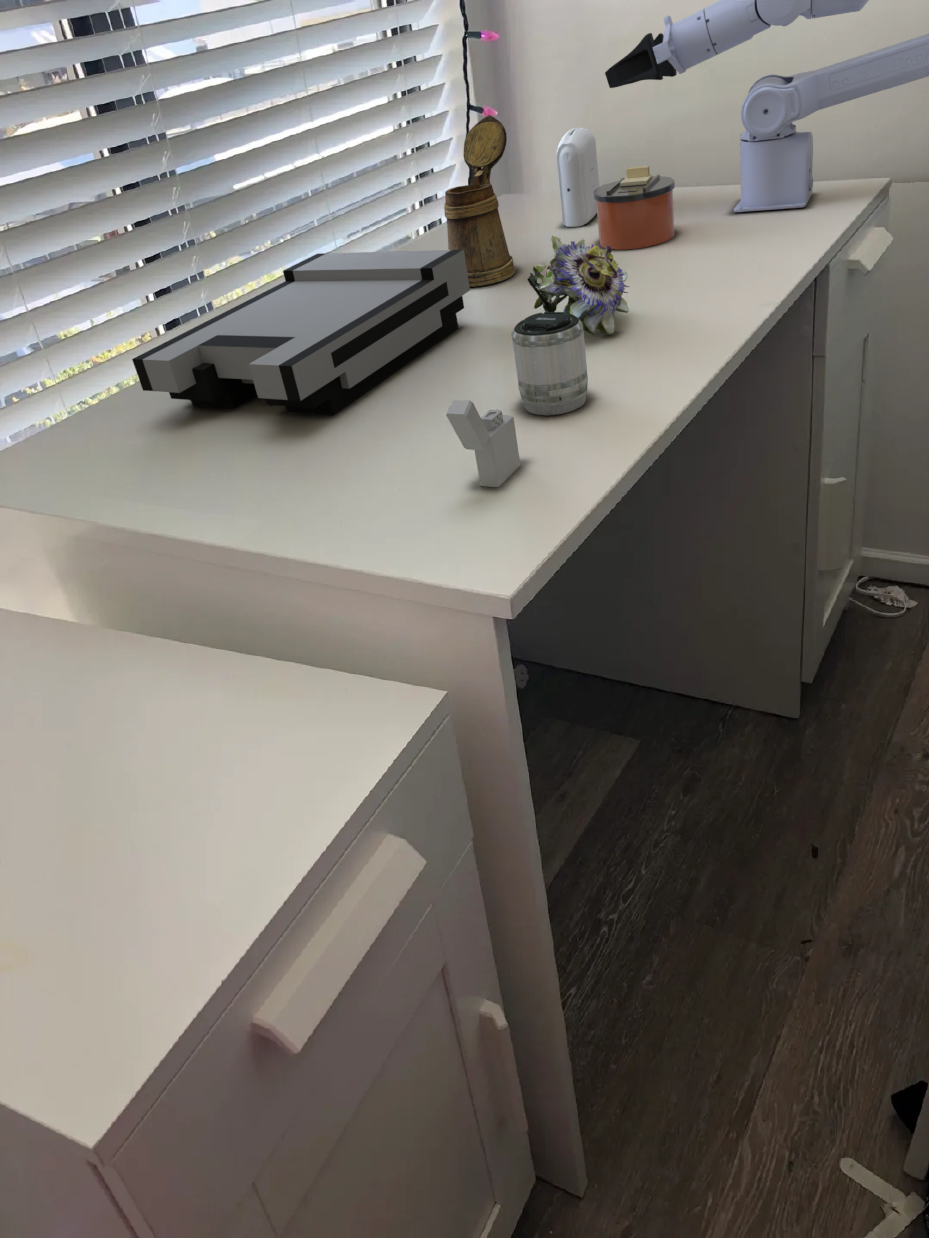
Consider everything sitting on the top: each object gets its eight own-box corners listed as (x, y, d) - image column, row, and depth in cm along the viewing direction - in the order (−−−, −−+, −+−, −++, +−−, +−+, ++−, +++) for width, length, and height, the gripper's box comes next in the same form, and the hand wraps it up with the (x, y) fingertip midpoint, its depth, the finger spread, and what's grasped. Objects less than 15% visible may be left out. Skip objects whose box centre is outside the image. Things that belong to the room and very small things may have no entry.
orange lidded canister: (684, 226, 137) (682, 170, 134) (666, 247, 130) (663, 189, 126) (609, 231, 142) (605, 177, 138) (587, 252, 134) (582, 196, 130)
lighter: (502, 463, 83) (488, 369, 78) (521, 464, 82) (507, 370, 77) (461, 503, 78) (443, 405, 73) (481, 505, 77) (464, 407, 72)
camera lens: (573, 419, 88) (563, 331, 84) (509, 415, 91) (497, 330, 87) (600, 391, 92) (593, 306, 88) (539, 389, 95) (529, 306, 91)
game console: (154, 423, 104) (127, 347, 100) (332, 320, 126) (317, 253, 122) (310, 437, 94) (288, 353, 90) (474, 322, 116) (463, 249, 112)
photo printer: (588, 226, 146) (580, 134, 139) (559, 228, 148) (550, 137, 141) (604, 208, 154) (597, 120, 147) (577, 211, 156) (569, 124, 149)
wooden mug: (538, 256, 137) (522, 110, 127) (499, 287, 127) (477, 132, 117) (480, 258, 140) (459, 118, 131) (437, 289, 131) (411, 139, 121)
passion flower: (610, 382, 108) (589, 315, 97) (522, 360, 113) (493, 293, 102) (652, 296, 110) (636, 221, 100) (563, 278, 115) (539, 204, 104)
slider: (652, 179, 133) (651, 165, 133) (646, 184, 131) (646, 170, 130) (626, 181, 135) (625, 168, 134) (620, 186, 133) (619, 173, 132)
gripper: (709, 0, 135) (615, 47, 141) (693, -2, 123) (591, 49, 130) (724, 55, 137) (632, 98, 144) (710, 58, 126) (609, 105, 132)
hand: (613, 79), depth 137 cm, fingers open, 7 cm apart
